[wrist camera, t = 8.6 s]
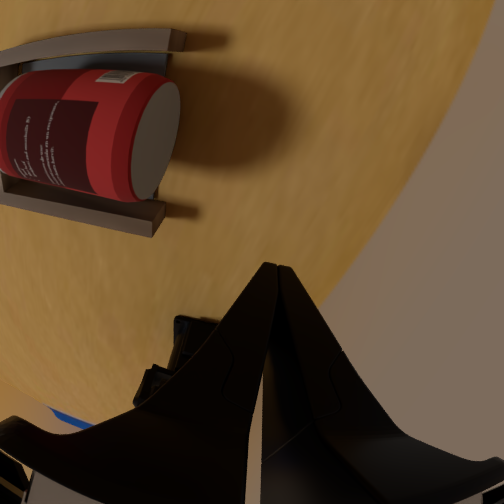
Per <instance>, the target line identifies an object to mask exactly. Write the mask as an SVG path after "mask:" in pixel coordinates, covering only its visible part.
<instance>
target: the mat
mask: <svg viewBox="0 0 504 504" xmlns="http://www.w3.org/2000/svg"><path fill="white" fill-rule="evenodd" d="M167 60H168V54H163V53H107V54H91V55H79V56H69V57H61V58H54V59H47V60H41V61H35V62H30V63H25V64H23V66H22V74H24V73H28V72H32V71H39V70H51V69H103V70H122V71H134V72H145V73H154V74H159V75H161V76H163V77H165V72H166V66H167ZM147 199H152V200H153V199H154V193H153V194H152V195H151V196H150V197H149V198H147Z"/></svg>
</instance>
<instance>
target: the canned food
mask: <svg viewBox="0 0 504 504" xmlns="http://www.w3.org/2000/svg"><path fill="white" fill-rule="evenodd" d="M179 118H180V95H179V91H178V88H177V86H176V84H175V83H174V81H172V80H170V79H168V78H165V77H163V76H161V75H159V74H154V73H145V72H134V71H122V70H103V69H51V70H39V71H32V72H28V73H24V74H21V75H19V76H17V77H16V78H14V79H13V80H12V81H10V82H9V83H8V84H7V85H6V86H5V88H4V89H3V90H2V91H1V93H0V171H2V172H3V173H5V174H8V175H9V176H13V177H17V178H21V179H25V180H30V181H34V182H39V183H43V184H48V185H52V186H57V187H61V188H66V189H70V190H75V191H79V192H84V193H88V194H92V195H97V196H101V197H105V198H110V199H114V200H118V201H122V202H140V201H144V200H146V199H147V198H149V197H150V196H151V195H152V194H153V193H154V191H155V190H156V188H157V187H158V185H159V184H160V182H161V180H162V178H163V176H164V173H165V171H166V169H167V166H168V163H169V161H170V158H171V155H172V151H173V148H174V144H175V140H176V136H177V131H178V125H179Z"/></svg>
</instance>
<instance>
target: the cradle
mask: <svg viewBox="0 0 504 504" xmlns="http://www.w3.org/2000/svg"><path fill="white" fill-rule="evenodd" d="M186 34H187V33H185V32H182V31H178V30H174V29H162V28H147V29H120V30H107V31H96V32H88V33H80V34H73V35H67V36H61V37H56V38H50V39H46V40H41V41H37V42H32V43H28V44H24V45H20V46H17V47H13V48H10V49H6V50H3V51H0V93H1V91H2V90H3V89H4V88H5V86H6V85H7V84H8V83H9V82H10V81H12V80H13V79H14V78H16V77H17V76H18V63H20V62H24V61H29V60H34V59H40V58H46V57H52V56H59V55H67V54H75V53H85V52H98V51H119V50H156V51H177V52H183V50H184V44H185V39H186ZM0 204H3V205H7V206H11V207H16V208H20V209H24V210H29V211H33V212H38V213H42V214H46V215H51V216H55V217H60V218H64V219H68V220H73V221H77V222H82V223H86V224H91V225H95V226H100V227H104V228H109V229H113V230H118V231H122V232H127V233H131V234H136V235H140V236H145V237H150V238H152V237H153V235H154V234H155V232H156V231H157V229H158V227H159V226H160V224H161V223H162V221H163V220H164V218H165V205H166V202H161V201H156V200H151V199H146V200H144V201H140V202H122V201H118V200H114V199H110V198H105V197H101V196H97V195H92V194H88V193H84V192H79V191H75V190H70V189H66V188H61V187H57V186H52V185H48V184H43V183H39V182H34V181H30V180H25V179H21V178H17V177H13V176H9V175H8V174H5V173H3V172H2V171H0Z"/></svg>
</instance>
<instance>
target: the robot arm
mask: <svg viewBox="0 0 504 504" xmlns="http://www.w3.org/2000/svg"><path fill="white" fill-rule="evenodd" d="M262 373H263V407H262V408H263V409H262V411H263V412H262V458H261V460H262V461H261V462H262V464H261V495H260V504H504V484H502V485H500V486H498V487H495V488H493V489H491V490H489V491H486V492H484V493H482V491H484V490H486V489H488V488H490V487H492V486H494V485H496V484H498V483H500V482H502V481H503V480H504V460H502V459H501V458H499V457H492V458H490V459H487V460H485V461H471V460H467V459H464V458H461V457H458V456H455V455H453V454H450V453H448V452H445V451H443V450H440V449H438V448H435V447H433V446H431V445H428V444H426V443H424V442H421V441H419V440H417V439H415V438H412V437H410V436H408V435H407V434H405V433H404V432H403V431H402V430H400V429H399V428H398V427H397V426H396V424H395V423H394V422H393V421H392V420H391V418H390V417H389V416H388V414H387V413H386V412H385V410H384V409H383V408H382V406H381V405H380V404H379V402H378V401H377V400H376V398H375V397H374V396H373V394H372V393H371V392H370V390H369V389H368V388H367V386H366V385H365V384H364V382H363V381H362V379H361V378H360V376H359V375H358V373H357V372H356V370H355V369H354V367H353V366H352V364H351V363H350V361H349V359H348V358H347V356H346V354H345V353H344V351H342V348H341V346H340V345H339V343H338V341H337V340H336V338H335V337H334V335H333V333H332V332H331V330H330V328H329V327H328V325H327V323H326V322H325V320H324V319H323V317H322V315H321V314H320V312H319V310H318V309H317V307H316V306H315V304H314V302H313V301H312V299H311V298H310V296H309V294H308V293H307V291H306V290H305V288H304V286H303V285H302V283H301V282H300V280H299V279H298V277H297V275H296V274H295V272H294V271H293V269H292V268H291V267H288V266H284V265H278V266H277V265H276V264H274V263H269V262H264V263H263V264H262V265H261V266H260V268H259V269H258V271H257V272H256V273H255V275H254V276H253V277H252V279H251V280H250V282H249V283H248V284H247V286H246V287H245V288H244V290H243V291H242V293H241V294H240V295H239V297H238V298H237V299H236V301H235V302H234V304H233V305H232V306H231V308H230V309H229V310H228V312H227V313H226V314H225V316H224V317H223V319H222V320H221V321H220V323H219V324H218V325H216V324H211V323H207V322H202V321H198V320H193V319H189V318H185V317H180V316H176V317H175V318H174V347H173V350H172V353H171V357H170V360H169V363H168V366H167V369H166V368H163V367H160V366H158V365H156V364H153V366H152V368H151V369H146V371H145V373H144V376H143V379H142V382H141V384H140V386H139V389H138V391H137V393H136V395H135V397H134V399H133V405H134V406H135V408H134V409H132V410H130V411H128V412H125V413H123V414H121V415H118V416H116V417H114V418H111V419H109V420H106V421H104V422H102V423H99V424H97V425H94V426H92V427H89V428H87V429H84V430H81V431H79V432H76V433H72V434H63V435H62V434H61V435H59V434H53V433H50V432H47V431H44V430H42V429H41V428H39V427H37V426H35V425H33V424H32V423H30V422H28V421H26V420H24V419H22V418H20V417H18V416H11V417H9V418H7V419H5V420H3V421H1V422H0V449H2V450H3V451H4V452H6V453H7V454H9V455H10V456H12V457H13V458H15V459H16V460H18V461H19V462H21V463H23V464H24V465H26V466H27V467H29V468H31V469H33V471H32V475H31V478H30V481H28V478H27V476H26V474H25V472H24V469H23V467H22V465H21V464H20V463H19V462H17V461H16V460H14V459H13V458H11V457H9V456H8V455H7V454H5V453H4V452H2V451H1V450H0V504H245V492H246V476H247V459H248V443H249V432H250V427H251V422H252V417H253V413H254V409H255V405H256V400H257V396H258V391H259V386H260V382H261V378H262Z"/></svg>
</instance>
